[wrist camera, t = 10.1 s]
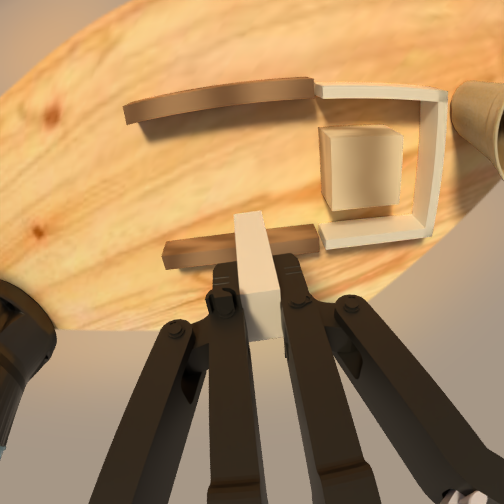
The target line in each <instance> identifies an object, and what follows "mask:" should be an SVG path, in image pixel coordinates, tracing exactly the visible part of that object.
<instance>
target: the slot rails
mask: <svg viewBox="0 0 504 504" xmlns="http://www.w3.org/2000/svg"><path fill="white" fill-rule="evenodd" d="M310 98H315V92H314V79H312V78H308V77H295V78H280V79H267V80H256V81H247V82H238V83H230V84H223V85H216V86H209V87H203V88H197V89H191V90H185V91H180V92H175V93H170V94H165V95H160V96H155V97H151V98H147V99H142V100H138V101H134V102H131V103H129V104H127V105H125V106H123V110H124V114H125V119H126V124H127V125H128V124H133V123H137V122H141V121H146V120H150V119H155V118H160V117H165V116H170V115H175V114H180V113H186V112H192V111H198V110H204V109H210V108H217V107H224V106H232V105H240V104H248V103H257V102H268V101H279V100H293V99H310ZM266 232H267V237H268V241H269V245H270V249H271V253H272V255H279V254H286V253H292V254H293V255H298V254H306V253H314V252H319V236H318V234H317V231H316V229H315V227H314V224H308V225H299V226H290V227H281V228H272V229H266ZM162 259H163V262H164V266H165V269H166V270H169V269H178V268H187V267H195V266H204V265H213V264H218V263H226V262H233V261H237V253H236V240H235V233H230V234H222V235H214V236H206V237H198V238H190V239H183V240H175V241H167V242H166V244H165V247H164V250H163V254H162Z"/></svg>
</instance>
